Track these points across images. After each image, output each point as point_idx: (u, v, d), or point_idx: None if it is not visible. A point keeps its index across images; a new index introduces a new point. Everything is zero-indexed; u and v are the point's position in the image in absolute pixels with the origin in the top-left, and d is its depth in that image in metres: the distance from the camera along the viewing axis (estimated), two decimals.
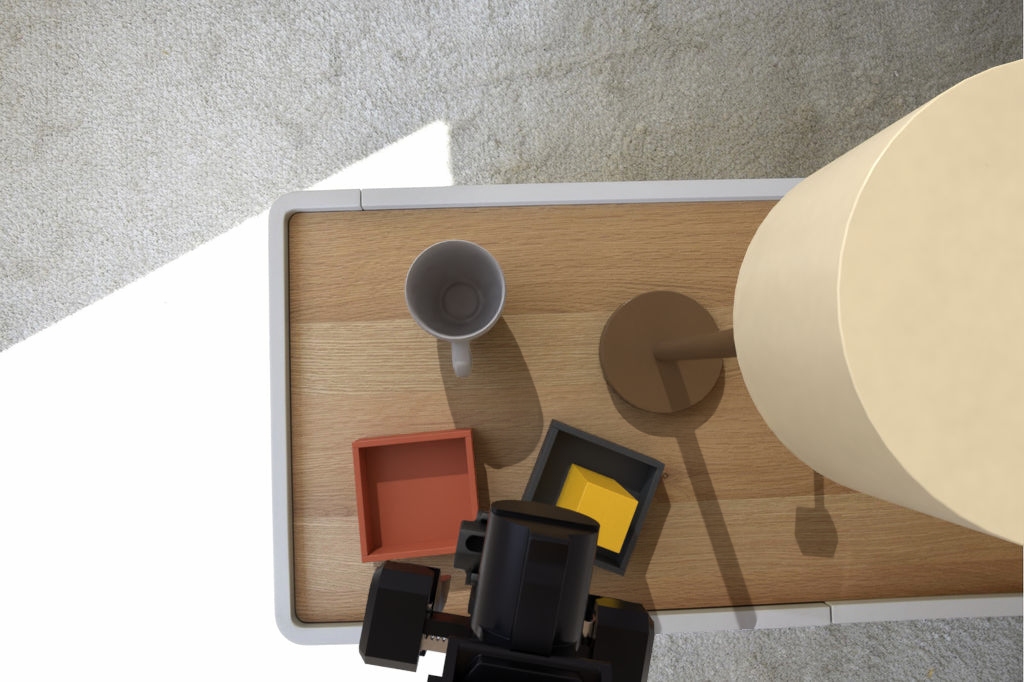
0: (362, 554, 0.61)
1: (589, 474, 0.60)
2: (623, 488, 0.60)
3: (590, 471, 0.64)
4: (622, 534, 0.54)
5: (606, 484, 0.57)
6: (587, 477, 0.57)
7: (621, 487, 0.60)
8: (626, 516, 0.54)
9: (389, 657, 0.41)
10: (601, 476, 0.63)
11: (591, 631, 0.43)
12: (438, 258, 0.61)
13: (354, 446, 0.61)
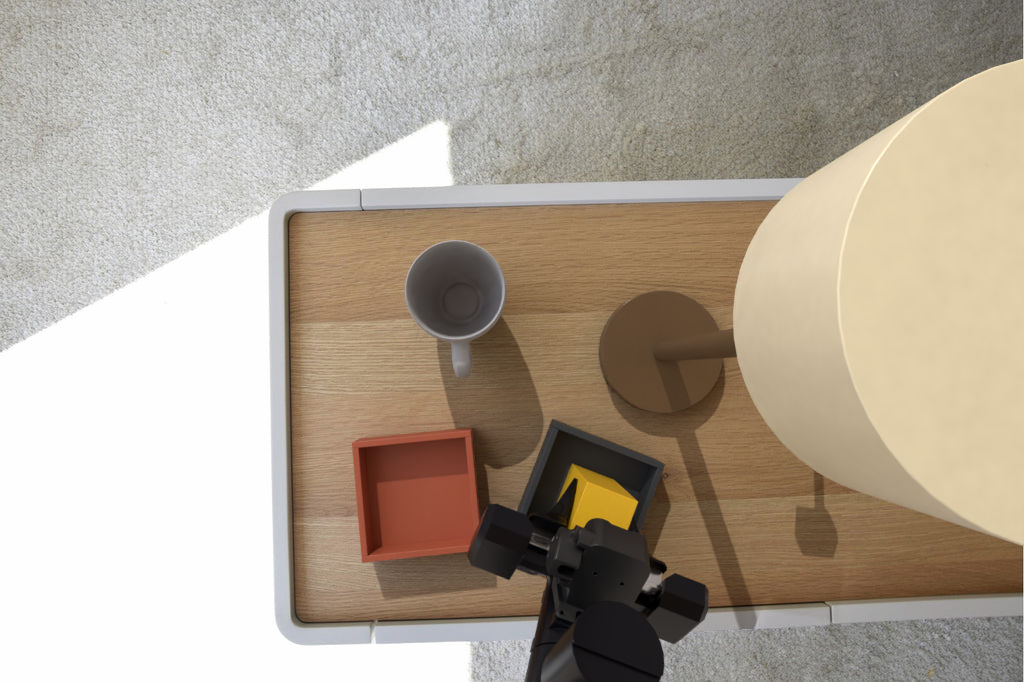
0: (362, 554, 0.61)
1: (589, 474, 0.60)
2: (623, 488, 0.60)
3: (590, 471, 0.64)
4: None
5: (606, 484, 0.57)
6: (587, 477, 0.57)
7: (621, 487, 0.60)
8: (626, 516, 0.54)
9: (489, 570, 0.53)
10: (601, 476, 0.63)
11: None
12: (438, 258, 0.61)
13: (354, 446, 0.61)
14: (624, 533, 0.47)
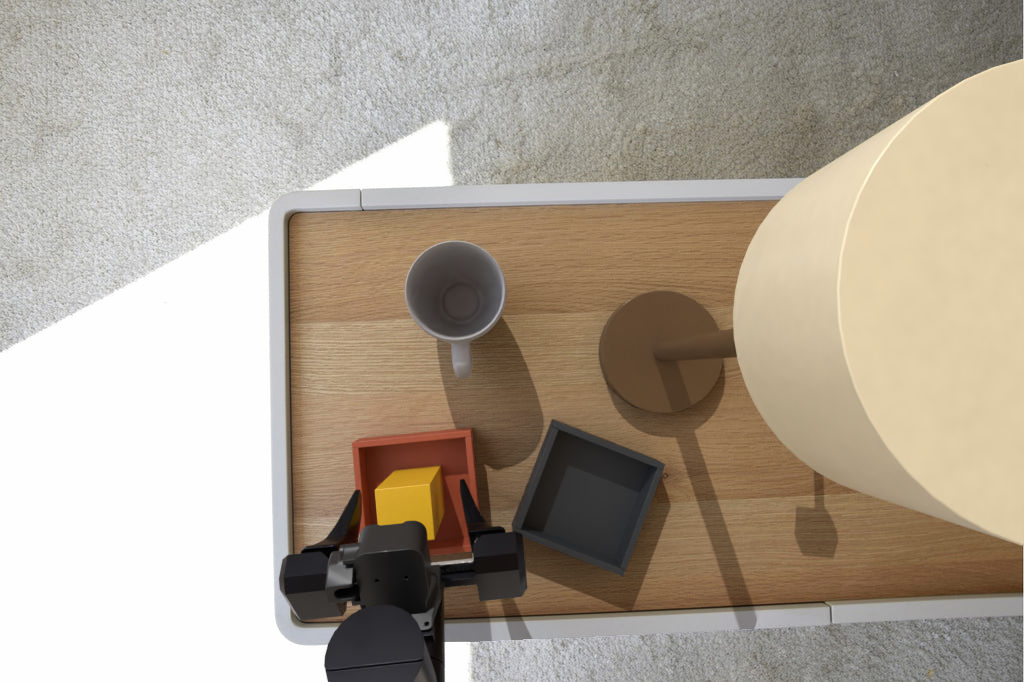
0: None
1: (400, 475, 0.60)
2: (435, 473, 0.59)
3: (412, 469, 0.63)
4: (429, 521, 0.53)
5: (409, 479, 0.57)
6: (387, 482, 0.57)
7: (433, 472, 0.59)
8: (425, 502, 0.53)
9: (319, 617, 0.52)
10: (421, 469, 0.63)
11: None
12: (438, 258, 0.61)
13: (354, 446, 0.61)
14: (393, 528, 0.46)
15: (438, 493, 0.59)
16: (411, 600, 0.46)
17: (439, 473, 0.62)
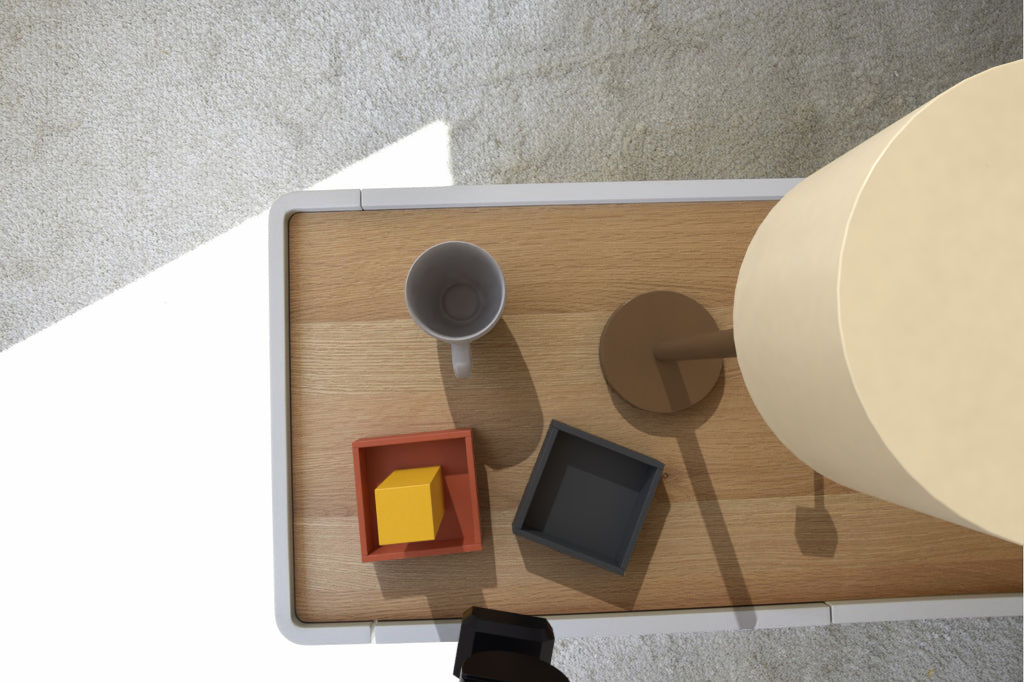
0: (362, 554, 0.61)
1: (400, 475, 0.60)
2: (435, 473, 0.59)
3: (412, 469, 0.63)
4: (429, 521, 0.53)
5: (409, 479, 0.57)
6: (387, 482, 0.57)
7: (433, 472, 0.59)
8: (425, 502, 0.53)
9: (472, 655, 0.42)
10: (421, 469, 0.63)
11: None
12: (438, 259, 0.61)
13: (354, 446, 0.61)
14: None
15: (438, 493, 0.59)
16: None
17: (439, 473, 0.62)
